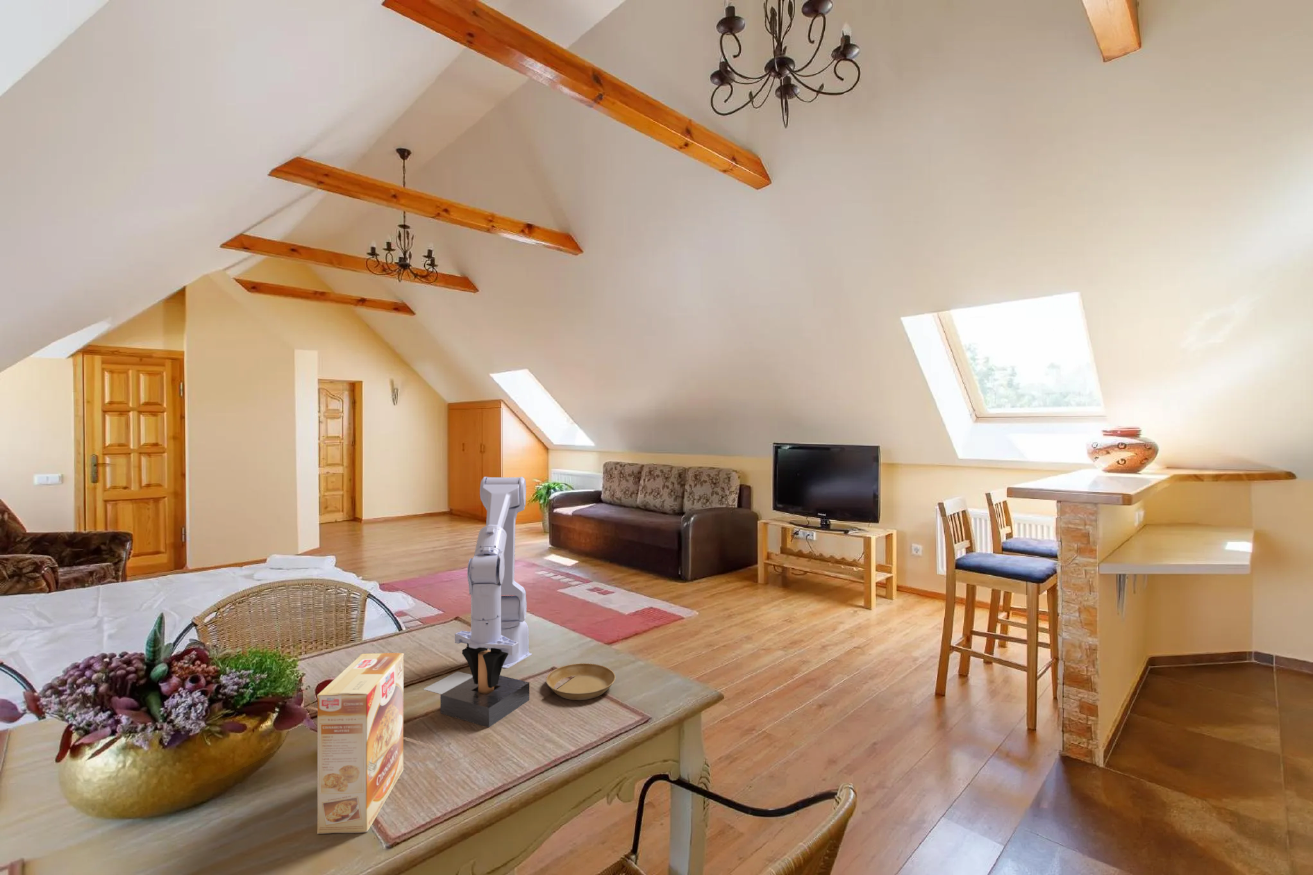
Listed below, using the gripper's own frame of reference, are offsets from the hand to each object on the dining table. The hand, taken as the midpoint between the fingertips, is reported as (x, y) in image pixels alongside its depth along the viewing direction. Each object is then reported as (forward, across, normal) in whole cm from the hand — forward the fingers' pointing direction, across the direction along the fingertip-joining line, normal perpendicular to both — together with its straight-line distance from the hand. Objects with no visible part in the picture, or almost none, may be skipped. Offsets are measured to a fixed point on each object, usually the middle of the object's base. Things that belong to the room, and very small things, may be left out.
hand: (486, 683), depth 117 cm
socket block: (+5, 0, 0) cm, 5 cm away
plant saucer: (+5, +12, +16) cm, 21 cm away
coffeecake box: (+5, +3, -30) cm, 31 cm away
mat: (+5, -12, +5) cm, 14 cm away
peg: (+3, 0, 0) cm, 3 cm away
